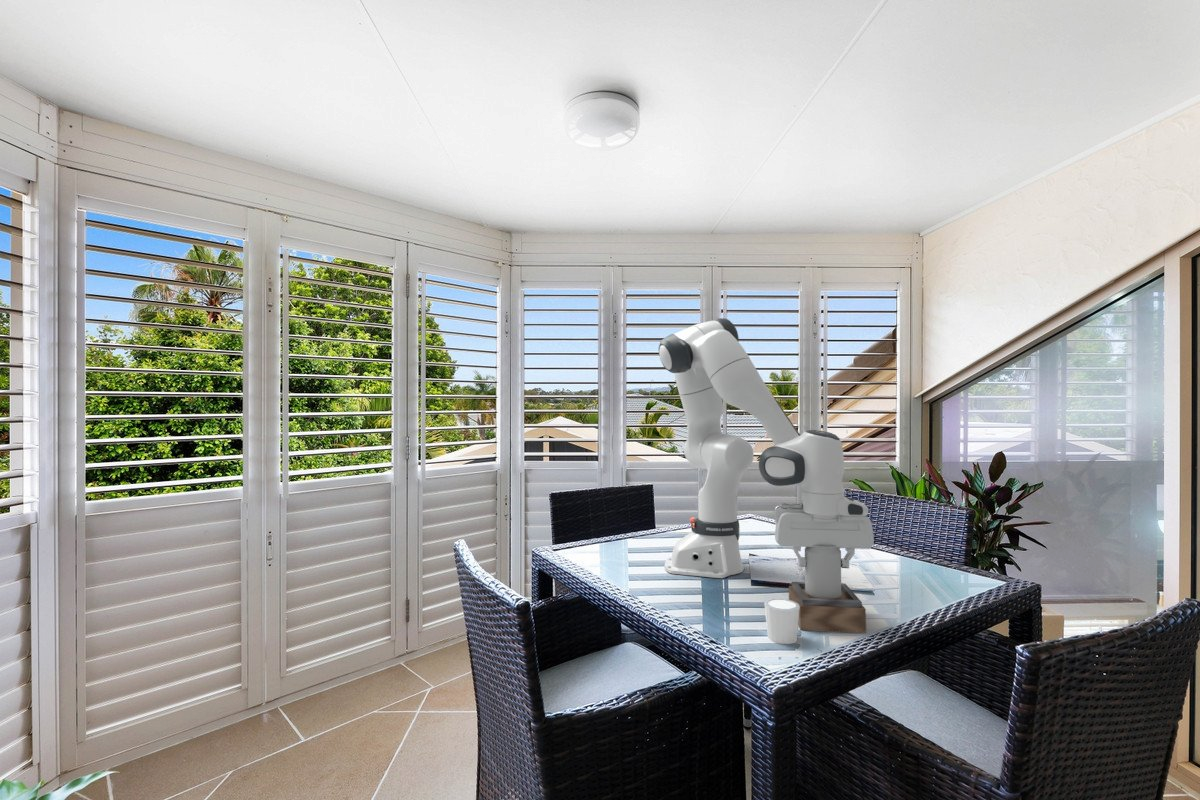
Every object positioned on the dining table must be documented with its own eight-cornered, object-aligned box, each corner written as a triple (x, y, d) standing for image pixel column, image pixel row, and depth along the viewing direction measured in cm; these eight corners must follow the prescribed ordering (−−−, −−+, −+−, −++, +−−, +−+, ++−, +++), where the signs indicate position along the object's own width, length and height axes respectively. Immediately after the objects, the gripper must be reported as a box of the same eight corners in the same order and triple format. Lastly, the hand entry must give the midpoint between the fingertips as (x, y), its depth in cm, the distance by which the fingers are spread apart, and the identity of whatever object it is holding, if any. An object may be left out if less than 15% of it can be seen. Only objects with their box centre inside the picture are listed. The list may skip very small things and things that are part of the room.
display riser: (800, 629, 117) (800, 600, 117) (789, 607, 130) (788, 580, 130) (865, 633, 115) (865, 603, 115) (847, 609, 128) (847, 582, 128)
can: (816, 588, 128) (815, 536, 128) (848, 597, 122) (847, 542, 122) (798, 596, 123) (797, 542, 123) (830, 605, 118) (830, 548, 118)
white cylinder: (759, 631, 117) (759, 598, 117) (791, 630, 117) (790, 597, 117) (772, 646, 110) (772, 610, 110) (806, 644, 110) (805, 609, 110)
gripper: (776, 505, 121) (776, 569, 121) (876, 507, 118) (876, 573, 118) (771, 500, 127) (772, 561, 127) (866, 502, 124) (867, 564, 124)
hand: (823, 566), depth 123 cm, fingers open, 7 cm apart
